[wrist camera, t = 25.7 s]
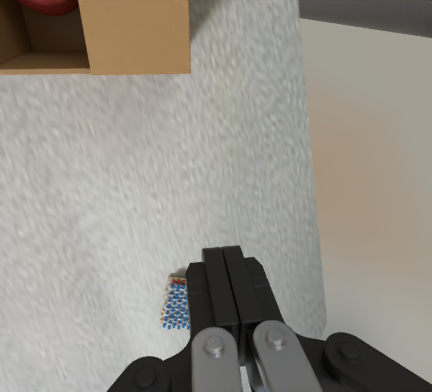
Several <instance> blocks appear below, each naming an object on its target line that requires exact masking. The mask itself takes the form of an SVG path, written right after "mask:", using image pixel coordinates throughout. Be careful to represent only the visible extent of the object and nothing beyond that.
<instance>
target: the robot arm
mask: <svg viewBox="0 0 432 392" xmlns="http://www.w3.org/2000/svg"><path fill="white" fill-rule="evenodd" d="M186 291H187V306H188V317H189V328H190V340H189V342H188V344H187V345H186V347H185V348H184V349H183V350H182V351H181V352H179V353H178V354H176V355H174V356H172V357H170V358H168V359H166V360H164V361H163V360H161V359H159V358H157V357H153V356H146V357H142V358H139V359H137V360H135V361H133V362H132V363H131V364H130V365H129V366H128V367H127V368H126V369H125V370H124V371H123V373H122V374H121V375H120V376H119V377H118V379H117V380H116V381H115V382H114V383H113V385H112V386H111V387H110V388H109V389H108V391H107V392H243V388H242V381H241V373H240V367H241V366H246V370H247V374H248V384H247V385H248V392H432V384H430V383H429V382H427V381H425V380H424V379H422V378H421V377H419V376H418V375H416V374H414V373H413V372H411V371H410V370H408V369H406V368H405V367H403V366H402V365H400V364H399V363H397V362H395V361H394V360H392V359H391V358H389V357H387V356H386V355H384V354H383V353H381V352H380V351H378V350H376V349H375V348H373V347H372V346H370V345H369V344H367V343H365V342H364V341H362V340H361V339H359V338H357V337H356V336H353V335H351V334H348V333H343V332H341V333H340V332H338V333H334V334H332V335H330V336H329V337H328V338H327V340H326V341H323V340H318V339H312V338H307V337H303V336H301V335H299V334H297V333H295V332H294V331H293V330H292V329H291V328H290V327H289V326H288V325H286V324H285V322H284V320H283V318H282V315H281V313H280V310H279V308H278V305H277V302H276V300H275V297H274V295H273V292H272V289H271V287H270V284H269V282H268V279H267V278H266V274H265V271H264V269H263V266H262V265H261V264H260V263H259V262H258V261H257V260H256V259H255V258H254V257H249V258H244V256H243V253H242V250H241V247H240V246H239V245H237V246H225V247H221V248H220V247H215V248H203V249H202V262H196V263H190V265H189V267H188V269H187V271H186Z"/></svg>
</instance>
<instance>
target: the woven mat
mask: <svg viewBox="0 0 432 392" xmlns="http://www.w3.org/2000/svg"><path fill="white" fill-rule="evenodd" d="M168 281H172V282H171V283H170V284H167V287H166V291H168V292H170V293H168V294H166V295H165V299H166V302H165V305H164V306H167V307H165V308H164V309H162V311H161V315H163V316H165V317H163V318H161V319H160V322H161V323H162V324H163V327H165V326H166V324H168V329H170V327H171V324H173V328H175V326H176V324H177V326H178V328H177V329H180V325H181V324H182V328H184V327H185V326H186V324H187V329H189V317H188V306H187V304H186V303H187V291H186V279H185V278H180V277H168ZM174 282H177V283H174ZM180 282H182V283H180ZM180 287H181V288H180ZM184 288H185V289H184ZM172 297H174V298H172ZM177 297H179V298H177ZM182 297H184V298H182ZM169 307H171V308H169ZM179 312H180V313H179ZM168 316H170V317H168Z"/></svg>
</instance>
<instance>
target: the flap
mask: <svg viewBox="0 0 432 392" xmlns="http://www.w3.org/2000/svg"><path fill="white" fill-rule="evenodd" d="M78 2H79V8H80V14H81V19H82V25H83V30H84V36H85V42H86V47H87V53H88V59H89V64H90V70H91V75H139V74H190V73H191V70H190V30H189V0H78Z"/></svg>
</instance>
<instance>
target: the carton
mask: <svg viewBox="0 0 432 392" xmlns="http://www.w3.org/2000/svg"><path fill="white" fill-rule="evenodd" d="M189 30H190V23H189ZM190 66H191V64H190ZM190 70H191V67H190ZM36 74H91V70H90V64H89V59H88V53H87V47H86V42H85V36H84V30H83V25H82V19H81V14H80V8H79V6H78V7H77V8H76V9H74V10H73V11H72V12H70V13H68V14H66V15H63V16H49V15H45V14H42V13H39V12H37V11H35V10H33V9H30V8H28V7H26V6H24V5H23V4H21V3H19V2H18V1H17V0H0V75H36Z"/></svg>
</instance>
